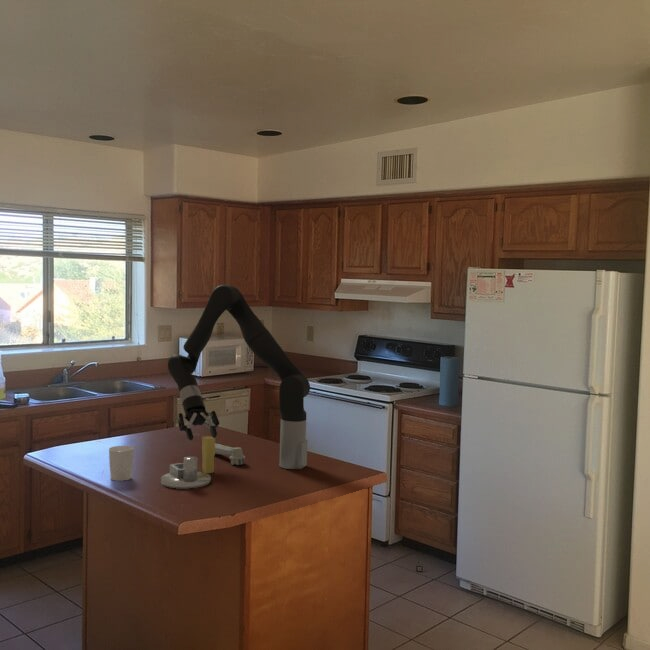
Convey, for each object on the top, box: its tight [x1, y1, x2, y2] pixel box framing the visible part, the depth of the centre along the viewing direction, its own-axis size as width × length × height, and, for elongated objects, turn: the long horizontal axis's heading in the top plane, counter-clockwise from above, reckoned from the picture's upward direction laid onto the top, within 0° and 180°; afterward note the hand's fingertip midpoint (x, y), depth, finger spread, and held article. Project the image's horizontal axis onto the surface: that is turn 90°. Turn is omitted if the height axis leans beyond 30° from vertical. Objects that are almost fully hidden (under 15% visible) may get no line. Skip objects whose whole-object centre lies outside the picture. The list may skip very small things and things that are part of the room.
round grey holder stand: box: [160, 456, 212, 490], centre depth 228 cm, size 16×16×9 cm
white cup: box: [108, 445, 135, 482], centre depth 229 cm, size 8×8×10 cm
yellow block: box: [201, 435, 216, 474], centre depth 241 cm, size 5×3×12 cm, turn 32°
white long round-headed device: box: [215, 442, 246, 466], centre depth 260 cm, size 5×7×25 cm
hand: (203, 438), depth 245 cm, fingers open, 8 cm apart
